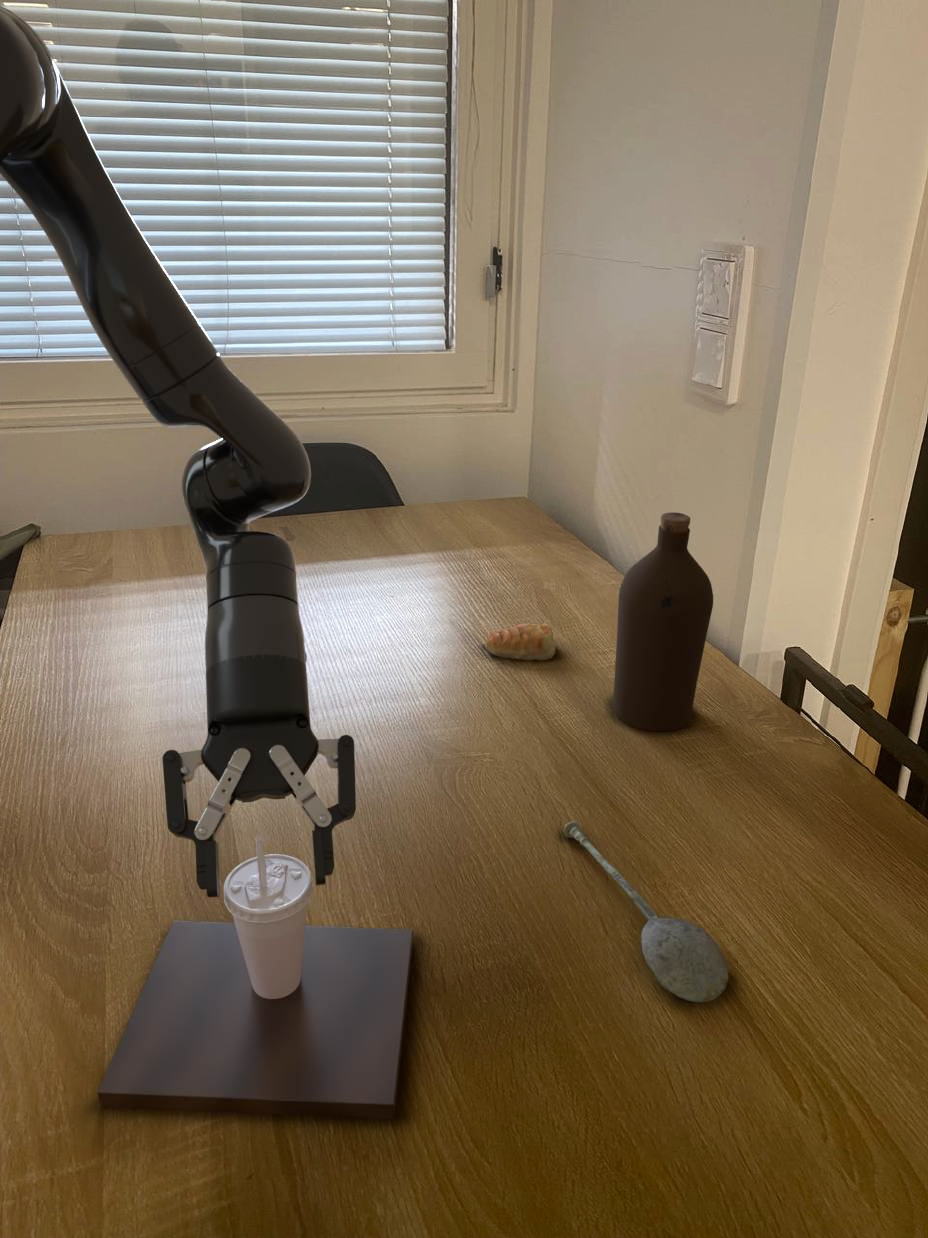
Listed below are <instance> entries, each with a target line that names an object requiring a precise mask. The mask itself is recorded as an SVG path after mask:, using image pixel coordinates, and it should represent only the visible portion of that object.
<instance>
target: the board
mask: <svg viewBox="0 0 928 1238" xmlns="http://www.w3.org/2000/svg"><path fill="white" fill-rule="evenodd" d="M413 947H414V930H413V929H407V928H406V929H405V928H403V929H402V928H400V929H399V928H377V927H376V928H375V927H352V926H348V927H347V926H325V925H306V927H305V938H304V949H303V960H302V971H301V980H300V984H299V986H298V987H297V988H296V990H295V991H293V992H292V993H291V994H289V995H287V996H285V997H282V998H278V999H267V998H263V997H261V996H259V995H258V994H257V993H256V992H255V991H254V989H253V986H252V983H251V979H250V976H249V972H248V969H247V965H246V962H245V958H244V954H243V951H242V947H241V944H240V940H239V937H238V933H237V930H236V926H235V923H234V922H218V921H216V922H215V921H192V920H191V921H190V920H172V922H171V924H170V927H169V929H168V931H167V934H166V935H165V938H164V940H163V942H162V944H161V947H160V950H159V952H158V953H157V956H156V958H155V960H154V963H153V966H152V968H151V970H150V972H149V975H148V977H147V979H146V981H145V983H144V986H143V989H142V991H141V993H140V994H139V997H138V1000H137V1001H136V1004H135V1006H134V1008H133V1011H132V1013H131V1015H130V1018H129V1020H128V1022H127V1024H126V1027H125V1029H124V1032H123V1034H122V1036H121V1038H120V1041H119V1043H118V1044H117V1047H116V1049H115V1052H114V1054H113V1056H112V1059H111V1061H110V1063H109V1065H108V1068H107V1070H106V1073H105V1075H104V1077H103V1079H102V1081H101V1084H100V1086H99V1088H98V1091H97V1096H98V1101H99V1106H100V1108H110V1109H111V1108H114V1109H133V1110H134V1109H135V1110H136V1109H137V1110H138V1109H139V1110H160V1111H183V1112H184V1111H187V1112H206V1113H207V1112H209V1113H232V1114H233V1113H237V1114H258V1115H259V1114H260V1115H284V1116H309V1117H330V1118H331V1117H333V1118H352V1119H353V1118H355V1119H356V1118H357V1119H378V1120H379V1119H382V1120H394V1119H395V1116H396V1107H397V1097H398V1087H399V1079H400V1071H401V1069H400V1068H401V1062H402V1061H401V1059H402V1051H403V1050H402V1049H403V1042H404V1041H403V1039H404V1031H405V1022H406V1012H407V1003H408V996H409V995H408V994H409V992H408V991H409V985H410V975H411V966H412V965H411V964H412V956H413Z"/></svg>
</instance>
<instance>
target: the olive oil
mask: <svg viewBox="0 0 928 1238" xmlns="http://www.w3.org/2000/svg"><path fill="white" fill-rule="evenodd" d="M690 524H691V517H690V516H689V515H687V514H685V513H681V512H673V511H672V512H665V513H663V514H661V516H660V524H659V527H658V531H657V543H656V546H655V547H654V548H653V549H652V550H651V551H650V552H648V553H647V554H646V555H644V556H643V557H642V558H641V559H639V560H638V561H637V562H636V563H634V564H633V565H632V566H631V567H630V568H629V569H628V570H627V572H626V573H625V576H624V577H623V580H622V582H621V584H620V586H619V592H618V601H617V603H618V604H617V625H616V645H615V646H616V647H615V649H616V650H615V662H614V682H613V695H612V711H613V713H614V715H615V716H616V717H617V718H618V719H619V720H620V721H621V722H623V723H624V724H626V725H628V726H630V727H633V728H635V729H638V730H642V731H646V732H653V733H659V732H660V733H665V732H672V731H676V730H679V729H681V728H683V727H685V726H686V725H687V724H688V723H689V722H690V720H691V718H692V712H693V707H694V701H695V697H696V690H697V684H698V679H699V675H700V671H701V670H700V669H701V664H702V660H703V654H704V650H705V645H706V641H707V636H708V631H709V626H710V622H711V617H712V612H713V609H714V608H713V607H714V591H713V587H712V582H711V580H710V578H709V576H708V574H707V573H706V572H705V570H704V569H703V568H702V566H701V565H700V564H699V563H698V561H697V560H696V559H695V558H694V557H693V556H692V554H691V553H690V551H689V549H688V546H689V545H688V544H689V540H690V532H691V529H690Z"/></svg>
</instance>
